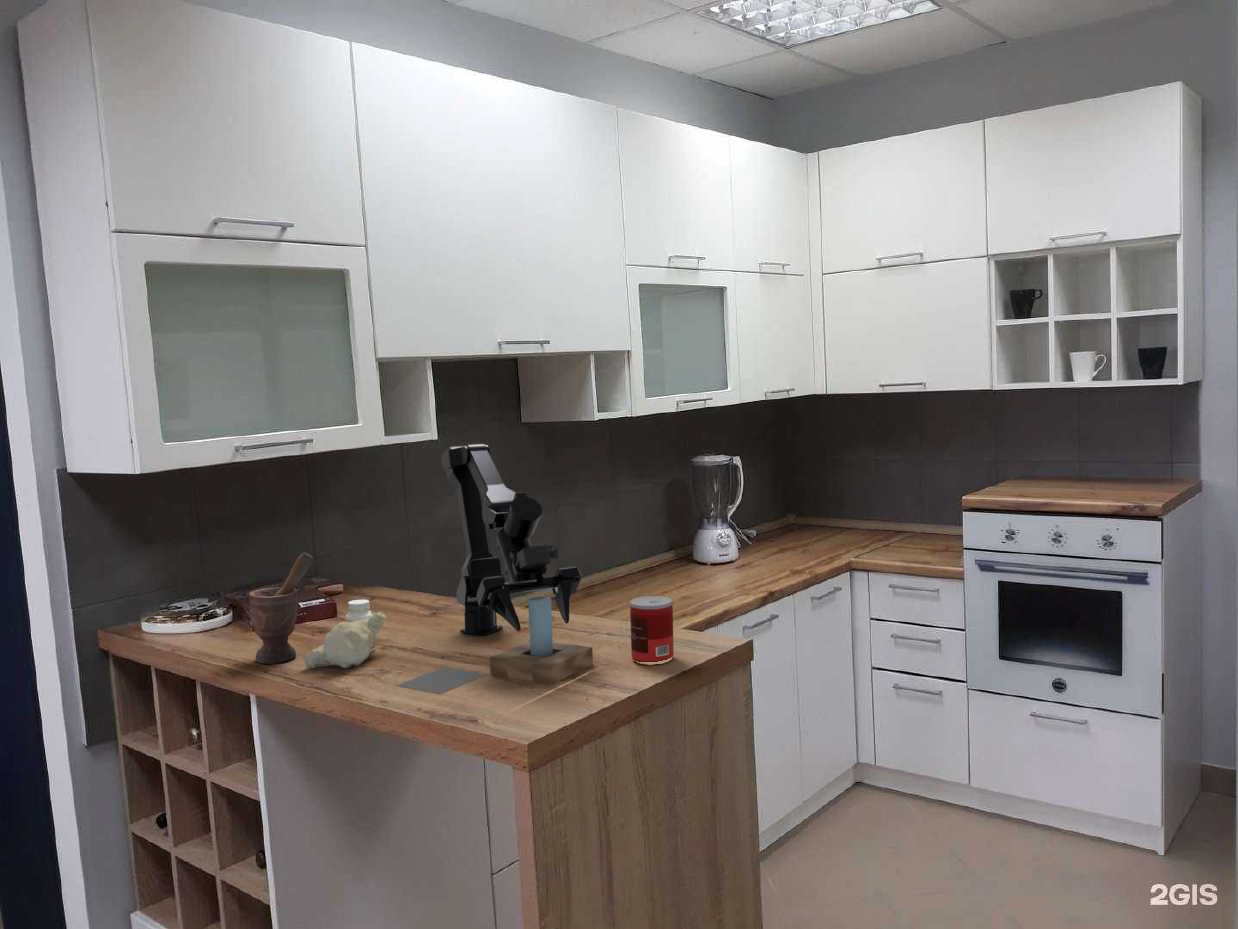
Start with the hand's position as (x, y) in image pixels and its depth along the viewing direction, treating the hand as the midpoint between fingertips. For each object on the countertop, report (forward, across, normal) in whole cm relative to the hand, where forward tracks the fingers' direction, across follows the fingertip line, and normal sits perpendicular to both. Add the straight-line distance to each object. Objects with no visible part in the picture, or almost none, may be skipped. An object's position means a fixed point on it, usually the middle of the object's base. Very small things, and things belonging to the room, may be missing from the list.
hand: (543, 625), depth 175 cm
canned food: (+8, +20, +4) cm, 22 cm away
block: (+5, 0, +7) cm, 9 cm away
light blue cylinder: (+5, 0, +7) cm, 9 cm away
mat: (+3, -17, +10) cm, 20 cm away
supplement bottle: (-17, -25, +30) cm, 42 cm away
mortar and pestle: (-20, -39, +32) cm, 54 cm away
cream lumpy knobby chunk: (-13, -28, +25) cm, 40 cm away
